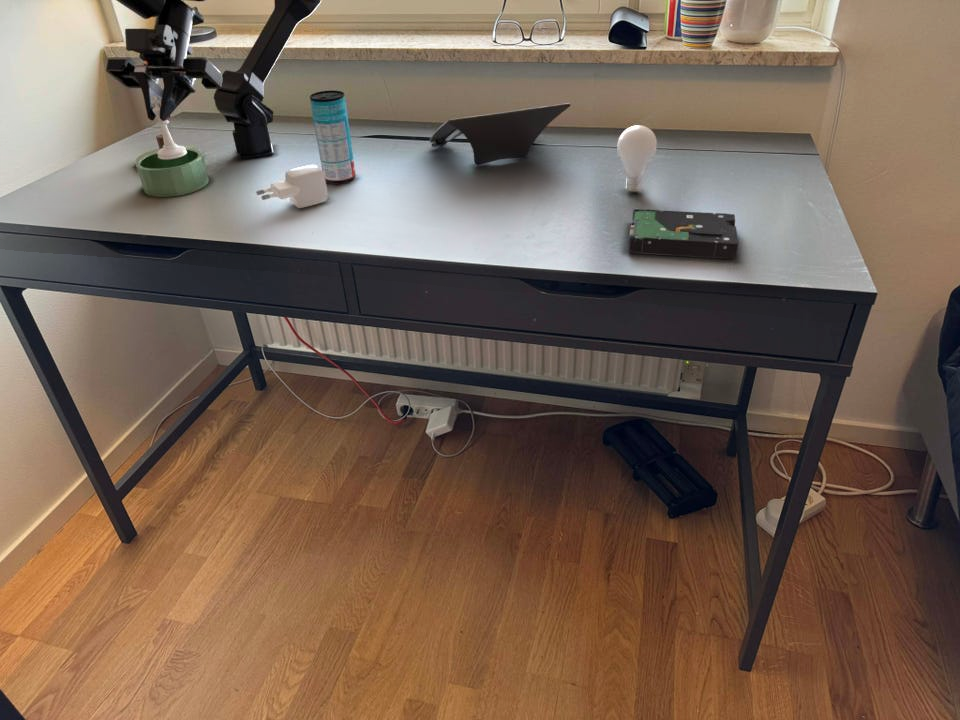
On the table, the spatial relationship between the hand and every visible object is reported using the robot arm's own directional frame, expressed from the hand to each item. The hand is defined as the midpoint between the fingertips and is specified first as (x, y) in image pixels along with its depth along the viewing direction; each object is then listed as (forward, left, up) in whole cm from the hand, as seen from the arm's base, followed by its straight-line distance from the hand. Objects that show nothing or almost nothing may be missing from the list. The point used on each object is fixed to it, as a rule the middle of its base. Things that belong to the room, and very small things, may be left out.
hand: (156, 119), depth 122 cm
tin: (0, -5, -13) cm, 14 cm away
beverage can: (-29, +4, -13) cm, 32 cm away
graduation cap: (-59, +2, -13) cm, 60 cm away
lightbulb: (-75, +30, -13) cm, 82 cm away
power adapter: (-20, +14, -13) cm, 28 cm away
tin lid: (+2, -20, -13) cm, 23 cm away
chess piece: (-1, -1, -7) cm, 7 cm away
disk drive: (-72, +50, -13) cm, 89 cm away
